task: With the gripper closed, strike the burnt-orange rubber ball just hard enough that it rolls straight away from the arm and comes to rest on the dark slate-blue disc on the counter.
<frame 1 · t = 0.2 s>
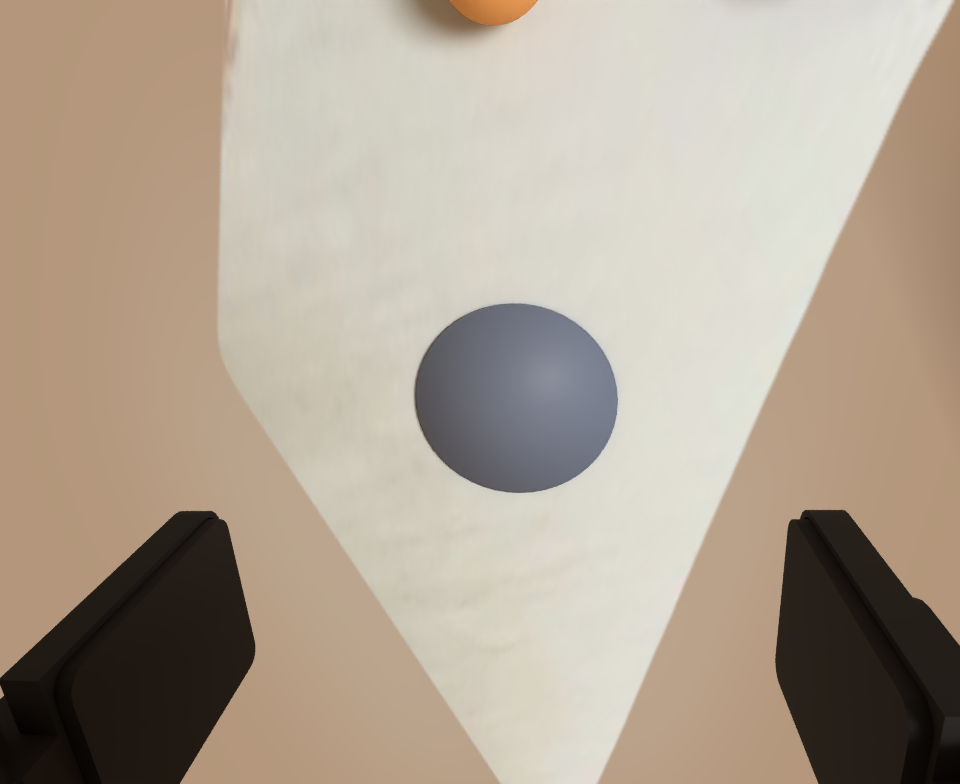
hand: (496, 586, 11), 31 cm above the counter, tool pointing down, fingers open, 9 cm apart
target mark: (515, 402, 43), on the counter
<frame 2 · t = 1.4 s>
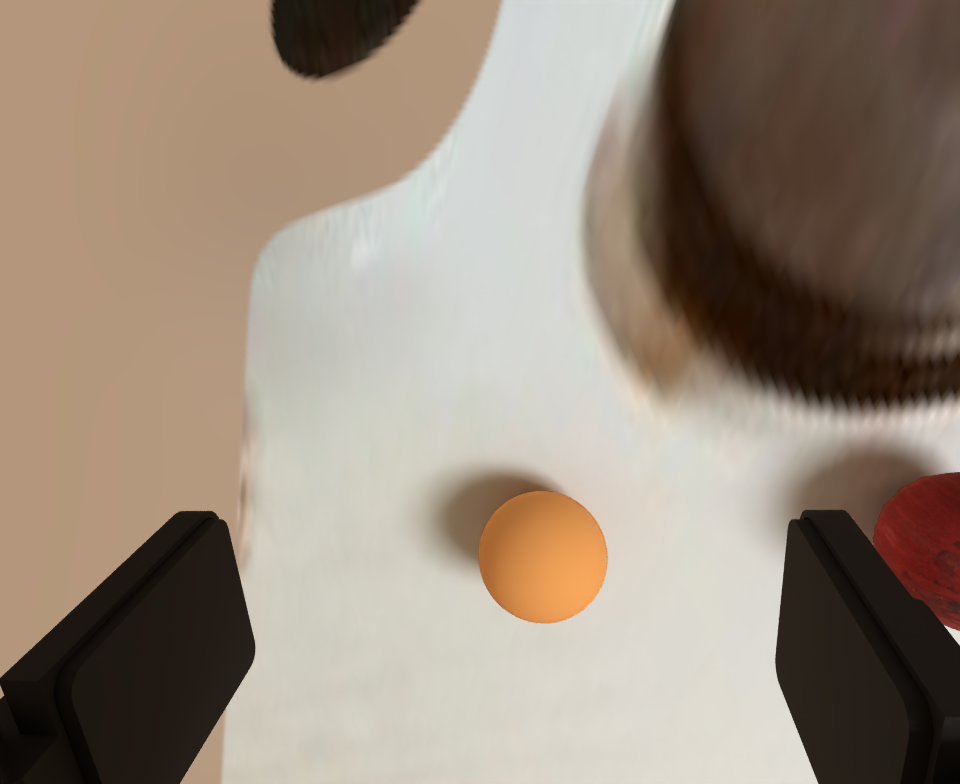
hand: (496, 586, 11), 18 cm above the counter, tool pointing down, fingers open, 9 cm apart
onion: (914, 501, 29), on the counter
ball: (542, 555, 28), on the counter
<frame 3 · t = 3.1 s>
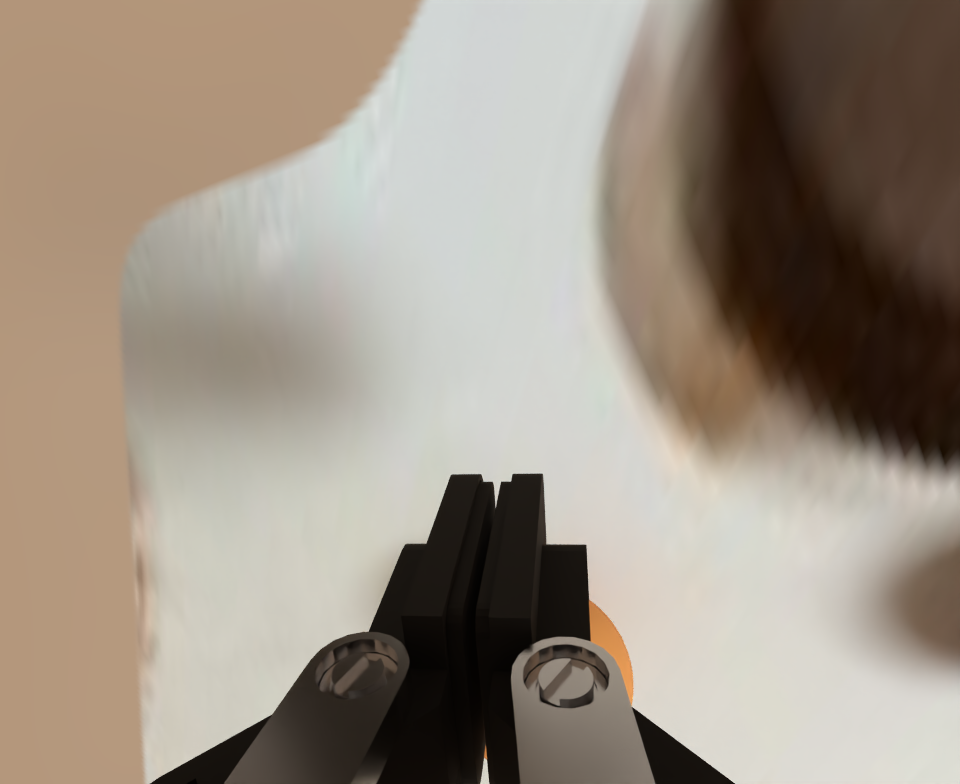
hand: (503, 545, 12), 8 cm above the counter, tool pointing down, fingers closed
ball: (540, 677, 20), on the counter
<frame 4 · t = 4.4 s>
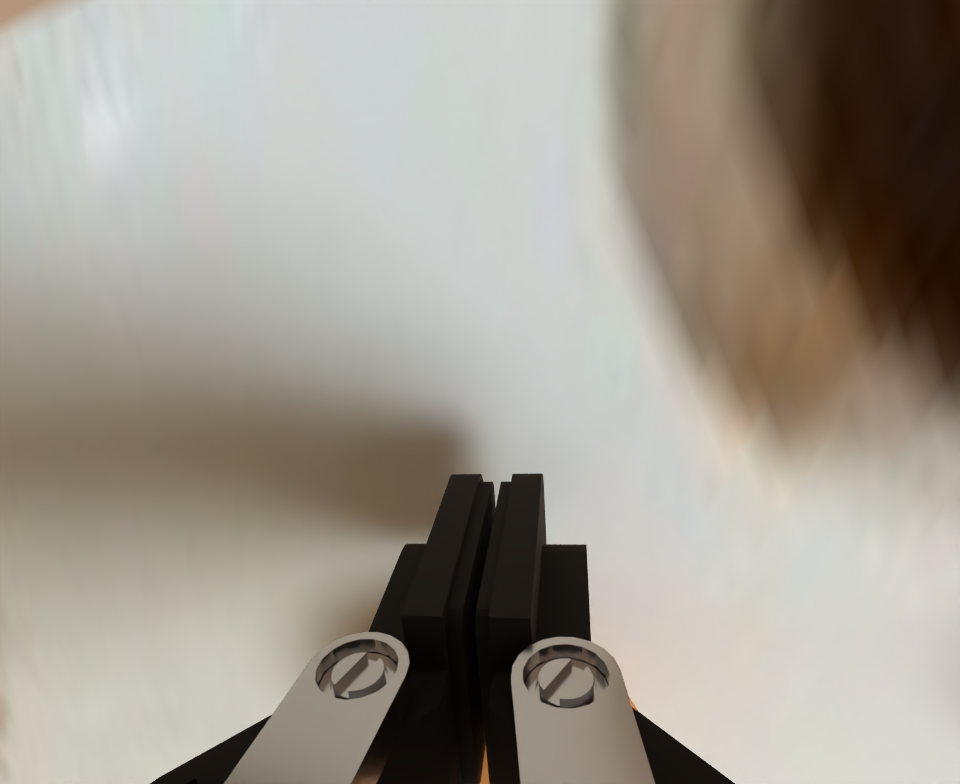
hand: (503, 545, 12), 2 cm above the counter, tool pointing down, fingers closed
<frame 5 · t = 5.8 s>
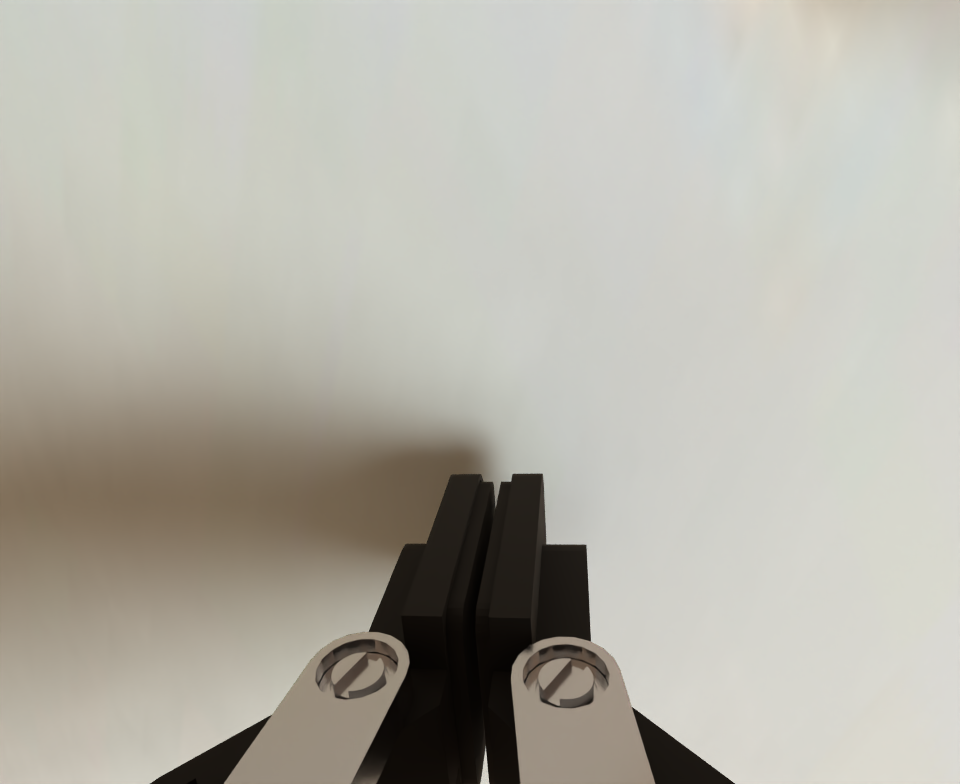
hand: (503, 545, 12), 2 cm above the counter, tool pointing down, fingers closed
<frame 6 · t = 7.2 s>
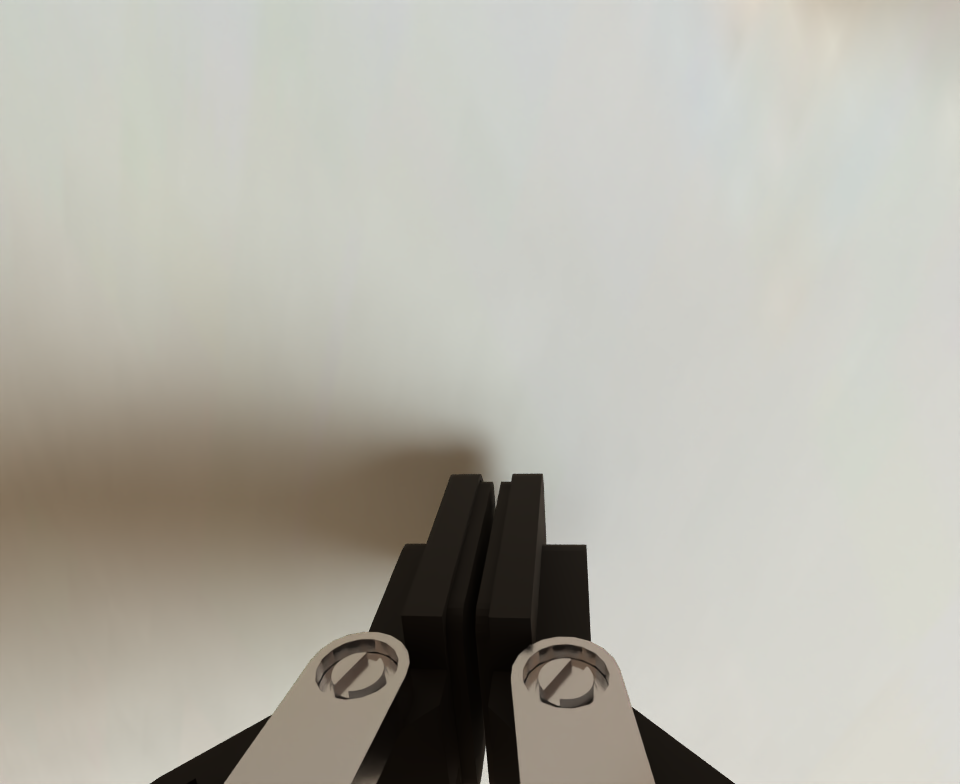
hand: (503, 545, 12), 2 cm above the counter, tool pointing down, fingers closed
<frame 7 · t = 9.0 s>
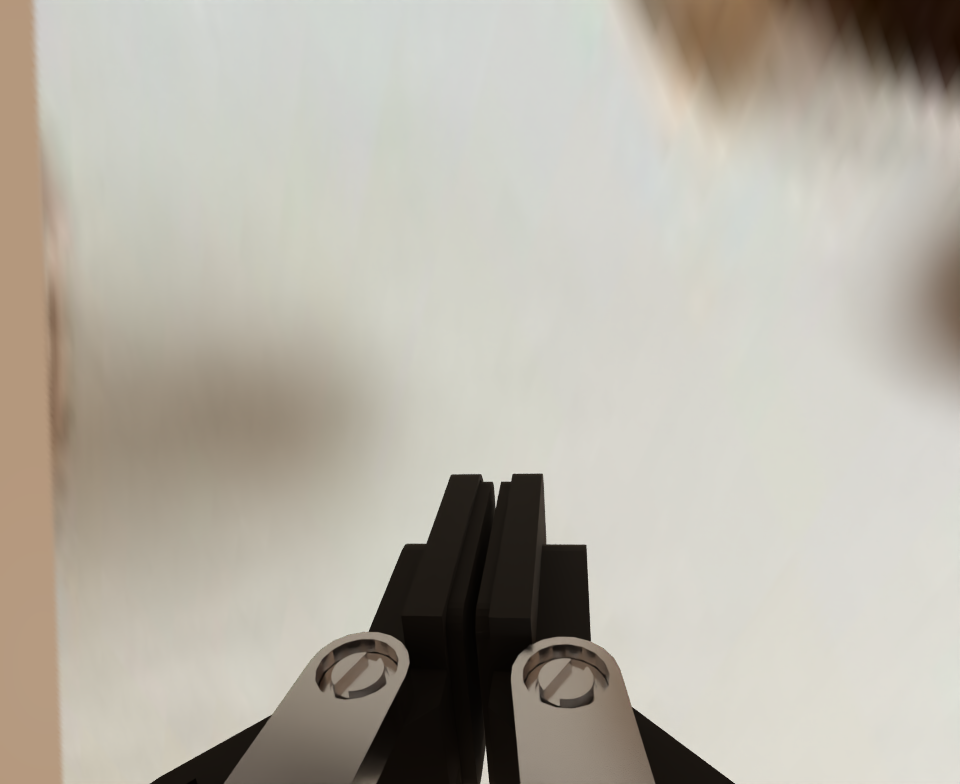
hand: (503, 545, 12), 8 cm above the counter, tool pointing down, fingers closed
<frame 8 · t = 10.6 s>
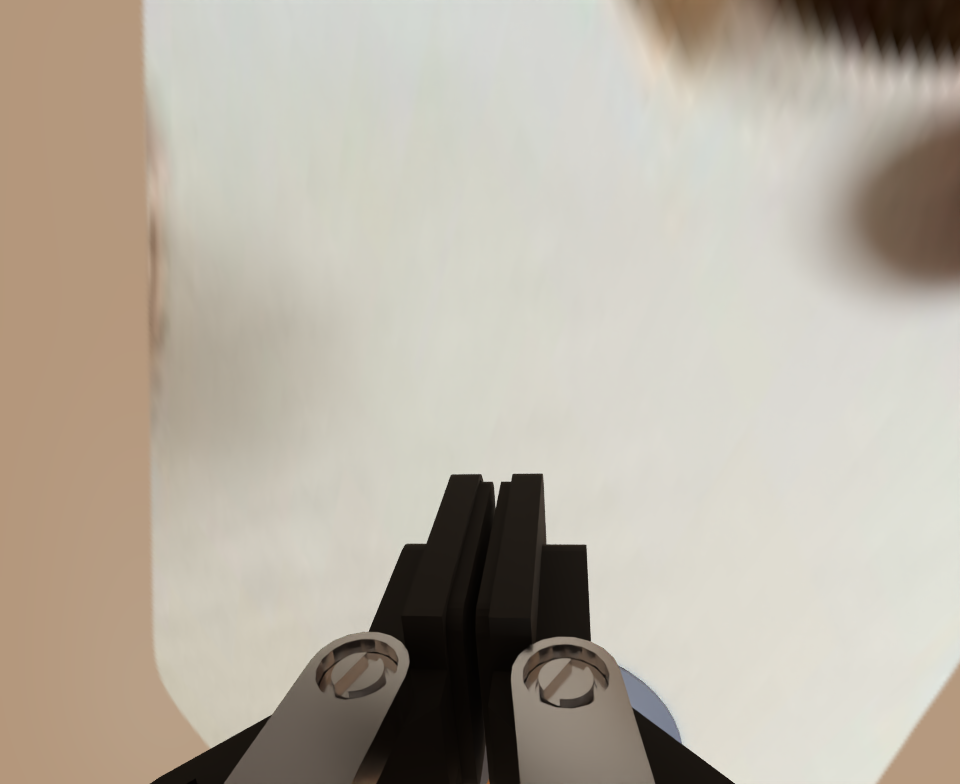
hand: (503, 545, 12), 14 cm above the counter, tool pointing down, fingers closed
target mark: (545, 752, 32), on the counter
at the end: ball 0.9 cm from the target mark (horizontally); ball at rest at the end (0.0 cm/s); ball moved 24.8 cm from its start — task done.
